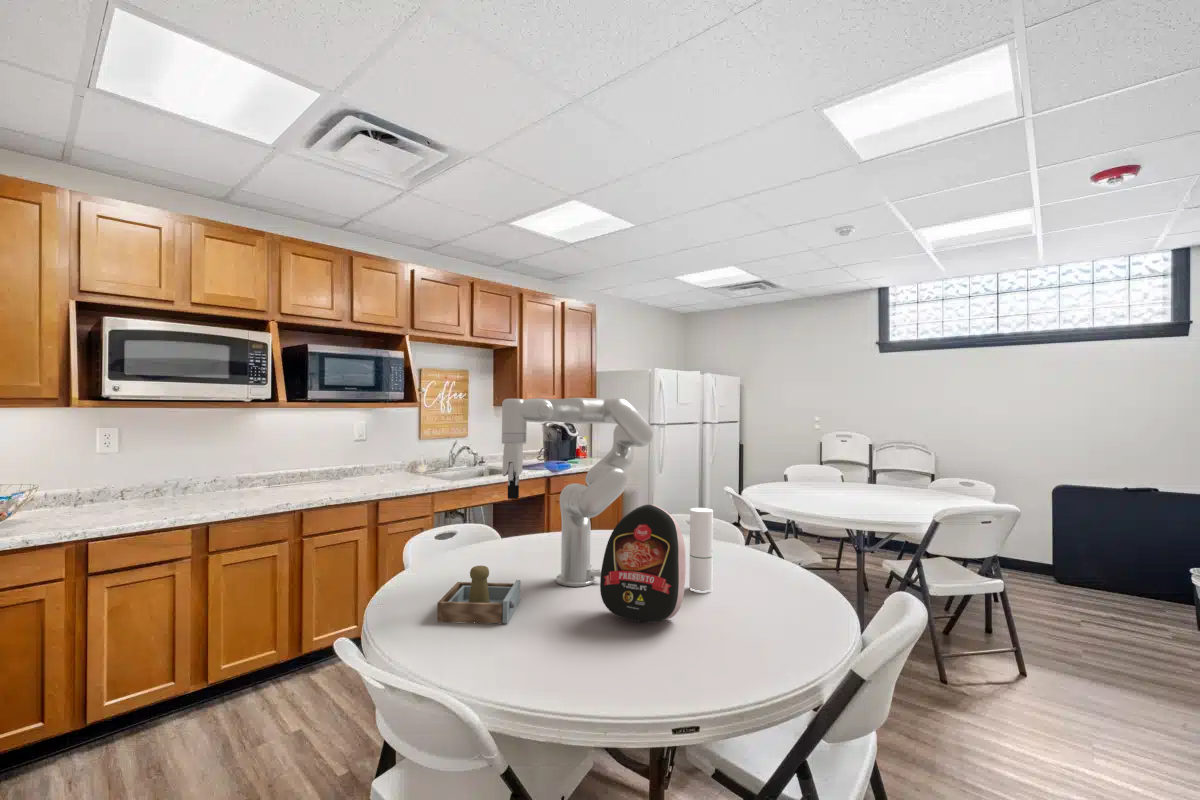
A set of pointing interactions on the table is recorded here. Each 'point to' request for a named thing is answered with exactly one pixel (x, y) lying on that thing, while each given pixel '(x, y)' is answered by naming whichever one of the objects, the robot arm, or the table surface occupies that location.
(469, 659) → the table surface
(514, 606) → the tray
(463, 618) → the frame
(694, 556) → the cylindrical container
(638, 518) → the packaged food
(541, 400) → the robot arm
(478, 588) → the cork
